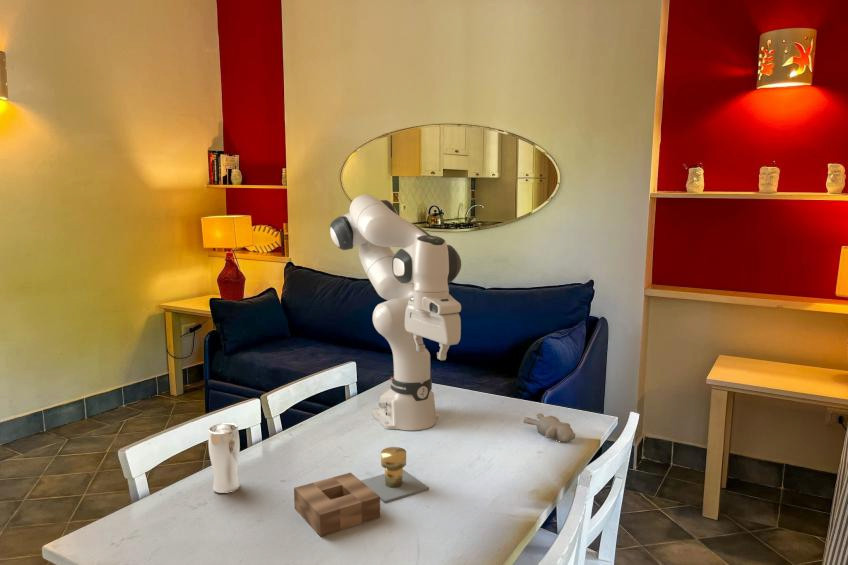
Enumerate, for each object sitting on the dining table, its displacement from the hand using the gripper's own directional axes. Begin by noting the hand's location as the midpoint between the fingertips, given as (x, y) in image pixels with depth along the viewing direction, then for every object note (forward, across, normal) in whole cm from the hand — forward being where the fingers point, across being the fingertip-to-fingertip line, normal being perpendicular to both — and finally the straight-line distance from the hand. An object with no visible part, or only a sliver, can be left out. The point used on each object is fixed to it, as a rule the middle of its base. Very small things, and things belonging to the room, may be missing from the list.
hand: (430, 355), depth 157 cm
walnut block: (+29, +9, -31) cm, 43 cm away
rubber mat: (+29, +5, -14) cm, 33 cm away
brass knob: (+29, +5, -14) cm, 32 cm away
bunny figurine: (+29, +2, +40) cm, 50 cm away
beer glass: (+29, -16, -48) cm, 58 cm away
